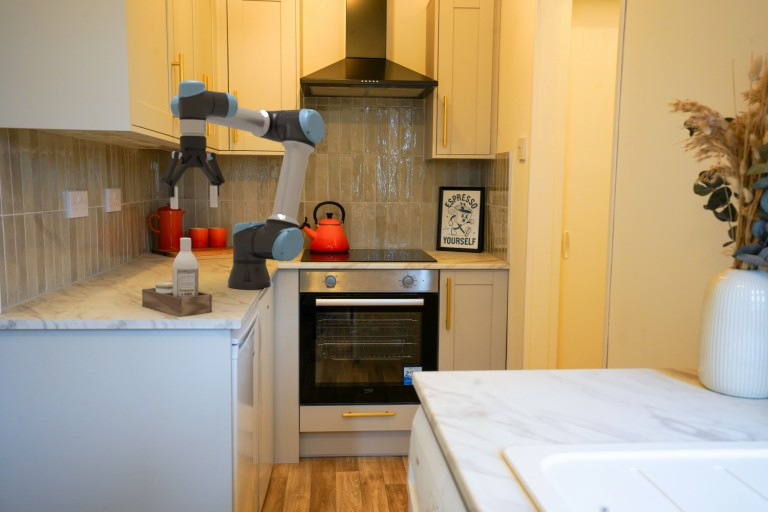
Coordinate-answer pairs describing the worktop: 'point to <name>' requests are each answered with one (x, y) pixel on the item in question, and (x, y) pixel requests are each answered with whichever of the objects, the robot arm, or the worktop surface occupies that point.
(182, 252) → the bath foam
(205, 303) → the caddy
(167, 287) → the cream jar
